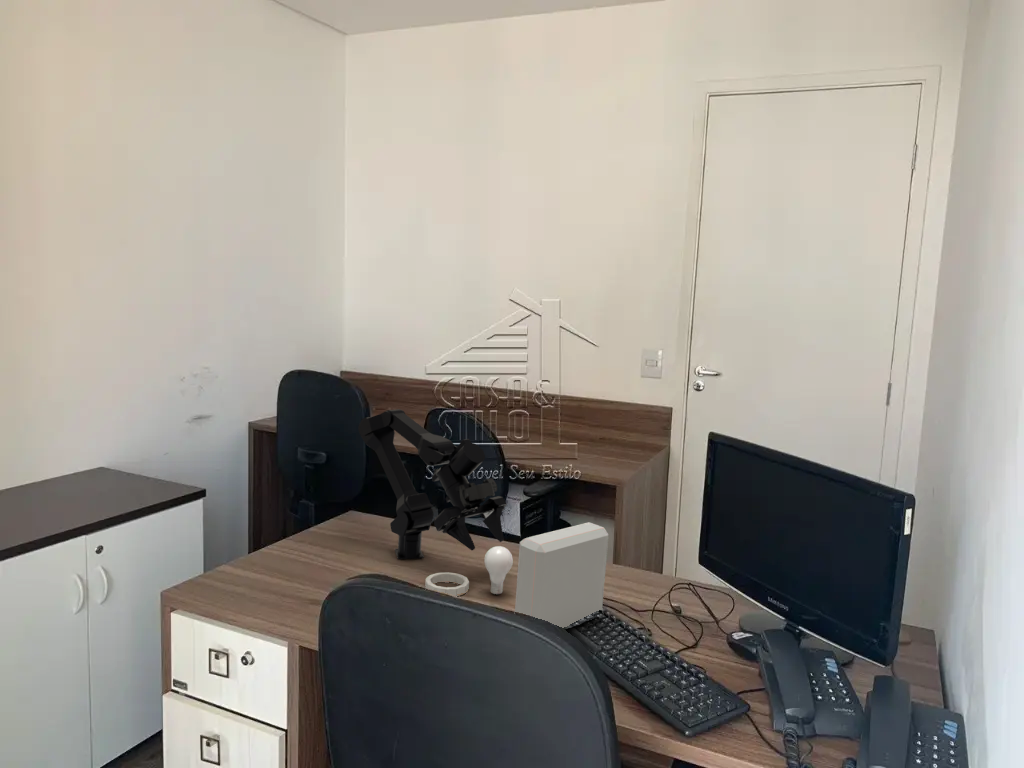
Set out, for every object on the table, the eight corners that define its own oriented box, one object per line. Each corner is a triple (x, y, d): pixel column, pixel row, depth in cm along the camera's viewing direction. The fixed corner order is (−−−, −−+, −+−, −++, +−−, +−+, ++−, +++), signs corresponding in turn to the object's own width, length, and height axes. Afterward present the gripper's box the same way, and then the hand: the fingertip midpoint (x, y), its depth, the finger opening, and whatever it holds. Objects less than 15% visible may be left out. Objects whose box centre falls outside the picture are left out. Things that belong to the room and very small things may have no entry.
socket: (422, 581, 173) (423, 573, 173) (463, 579, 176) (463, 571, 175) (429, 598, 164) (429, 590, 164) (471, 596, 167) (472, 588, 166)
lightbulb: (507, 601, 165) (510, 553, 164) (479, 597, 166) (482, 549, 165) (512, 590, 171) (516, 544, 170) (485, 586, 173) (488, 540, 171)
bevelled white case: (576, 606, 165) (583, 518, 163) (604, 619, 160) (612, 528, 157) (505, 631, 151) (512, 535, 148) (534, 647, 145) (541, 547, 143)
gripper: (445, 473, 165) (478, 535, 159) (503, 462, 178) (535, 519, 172) (419, 500, 171) (450, 560, 165) (478, 487, 185) (508, 543, 179)
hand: (488, 545), depth 170 cm, fingers open, 9 cm apart
